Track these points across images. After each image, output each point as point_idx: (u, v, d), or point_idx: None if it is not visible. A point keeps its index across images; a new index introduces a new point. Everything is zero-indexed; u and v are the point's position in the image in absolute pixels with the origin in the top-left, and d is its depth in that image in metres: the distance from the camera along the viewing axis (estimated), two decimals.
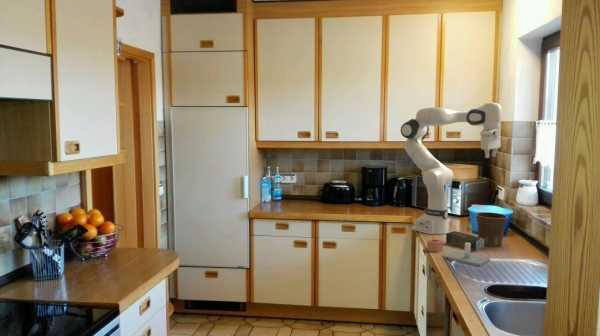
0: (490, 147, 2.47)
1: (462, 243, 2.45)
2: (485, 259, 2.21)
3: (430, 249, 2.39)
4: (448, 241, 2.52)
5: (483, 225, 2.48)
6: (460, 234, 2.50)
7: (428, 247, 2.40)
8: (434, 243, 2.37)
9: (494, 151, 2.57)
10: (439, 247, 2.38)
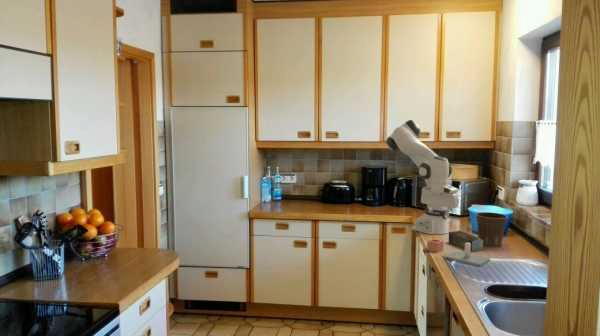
0: None
1: (461, 243, 2.45)
2: (485, 259, 2.21)
3: (430, 249, 2.39)
4: (450, 240, 2.54)
5: (483, 225, 2.48)
6: (461, 234, 2.50)
7: (428, 247, 2.40)
8: (434, 243, 2.37)
9: (429, 207, 2.43)
10: (439, 247, 2.38)
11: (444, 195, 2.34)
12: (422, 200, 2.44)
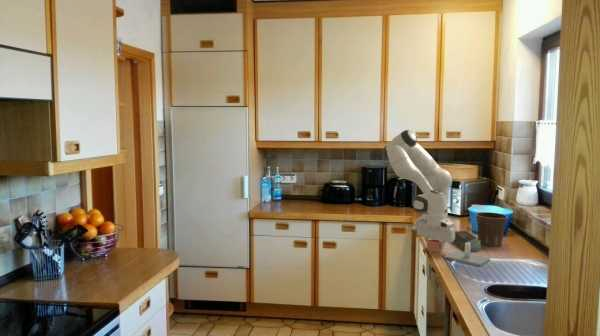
0: None
1: (460, 242, 2.47)
2: (485, 259, 2.21)
3: (430, 249, 2.39)
4: None
5: (483, 225, 2.48)
6: (463, 234, 2.50)
7: (428, 247, 2.40)
8: (434, 243, 2.37)
9: (427, 240, 2.43)
10: (439, 247, 2.38)
11: (441, 229, 2.35)
12: (418, 233, 2.45)
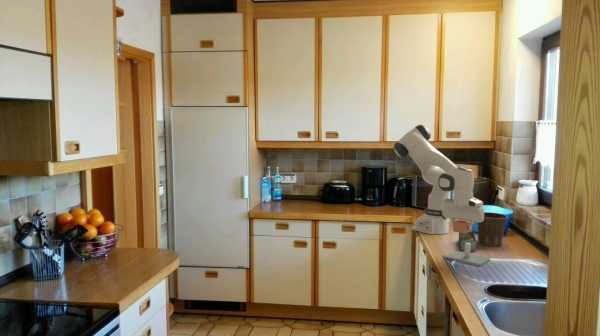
0: None
1: (459, 241, 2.48)
2: (485, 259, 2.21)
3: (456, 230, 2.23)
4: None
5: (483, 225, 2.48)
6: (466, 234, 2.50)
7: (454, 228, 2.24)
8: (461, 224, 2.21)
9: None
10: None
11: (469, 208, 2.18)
12: (444, 213, 2.29)
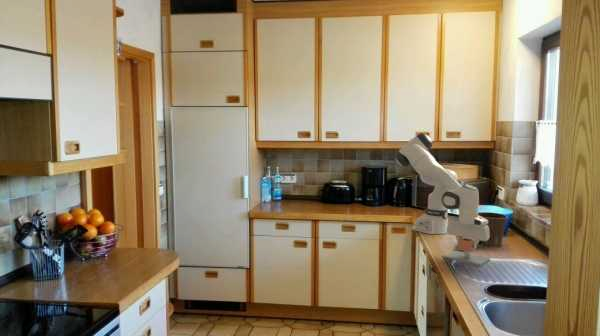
0: None
1: None
2: (485, 259, 2.21)
3: (462, 248, 2.23)
4: None
5: None
6: None
7: (459, 246, 2.23)
8: (466, 242, 2.21)
9: (458, 239, 2.27)
10: None
11: (474, 226, 2.18)
12: (448, 231, 2.28)
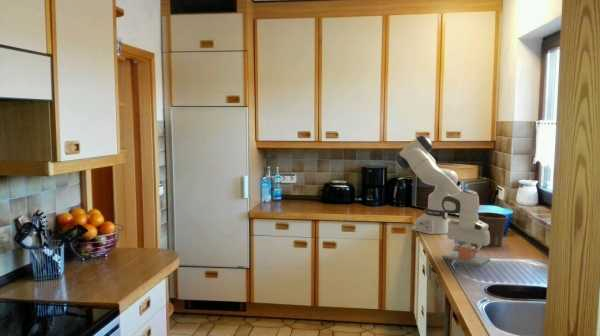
0: None
1: None
2: (485, 259, 2.21)
3: (462, 256, 2.23)
4: None
5: None
6: None
7: (460, 254, 2.24)
8: (466, 250, 2.21)
9: (457, 243, 2.28)
10: (472, 254, 2.22)
11: (475, 231, 2.18)
12: (449, 235, 2.28)
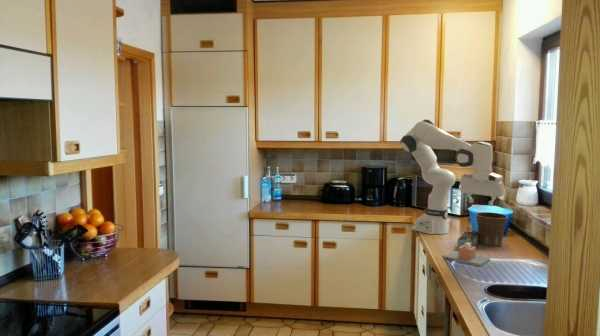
0: None
1: None
2: (485, 259, 2.21)
3: (462, 256, 2.23)
4: None
5: (483, 225, 2.48)
6: (469, 234, 2.50)
7: (460, 254, 2.24)
8: (466, 250, 2.21)
9: (470, 196, 2.25)
10: (472, 254, 2.22)
11: (489, 183, 2.16)
12: (462, 189, 2.26)
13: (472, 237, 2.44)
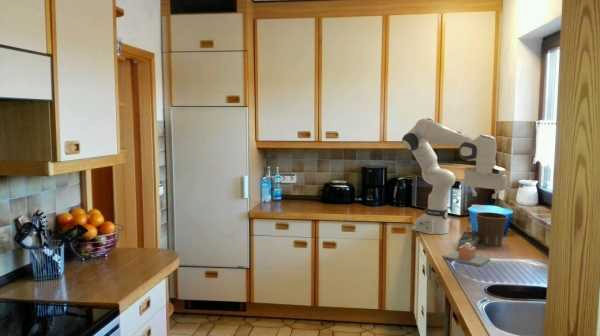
0: None
1: None
2: (485, 259, 2.21)
3: (462, 256, 2.23)
4: None
5: (483, 225, 2.48)
6: (469, 234, 2.50)
7: (460, 254, 2.24)
8: (466, 250, 2.21)
9: (473, 190, 2.25)
10: (472, 254, 2.22)
11: (492, 176, 2.15)
12: (465, 182, 2.26)
13: (473, 237, 2.44)
